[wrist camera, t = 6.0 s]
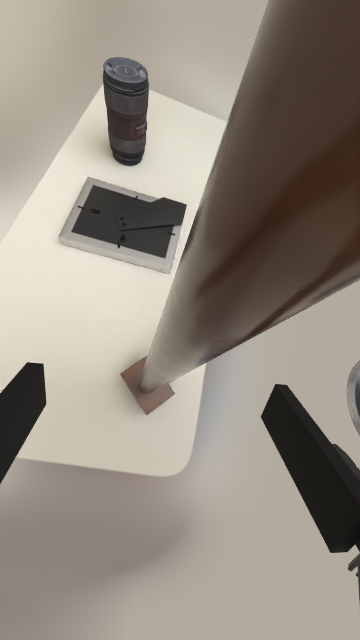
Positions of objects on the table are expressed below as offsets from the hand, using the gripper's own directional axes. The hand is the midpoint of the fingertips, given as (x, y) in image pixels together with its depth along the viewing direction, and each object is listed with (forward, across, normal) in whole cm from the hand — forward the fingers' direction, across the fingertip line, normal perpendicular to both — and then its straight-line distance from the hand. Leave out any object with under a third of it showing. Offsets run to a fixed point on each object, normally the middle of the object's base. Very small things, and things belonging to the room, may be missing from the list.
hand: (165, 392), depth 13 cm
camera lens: (+56, -10, +20) cm, 60 cm away
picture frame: (+41, -7, +5) cm, 42 cm away
